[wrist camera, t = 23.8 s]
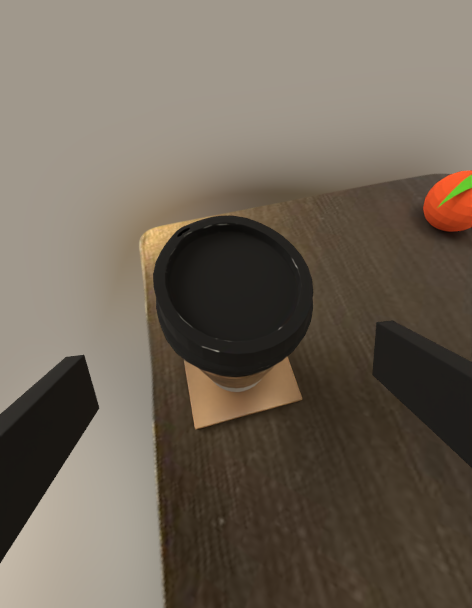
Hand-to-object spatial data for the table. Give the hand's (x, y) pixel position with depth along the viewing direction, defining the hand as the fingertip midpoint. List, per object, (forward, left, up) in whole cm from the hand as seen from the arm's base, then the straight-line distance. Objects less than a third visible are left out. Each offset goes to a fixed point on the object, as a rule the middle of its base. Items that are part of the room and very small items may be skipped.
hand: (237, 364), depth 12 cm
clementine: (+23, +26, -14) cm, 38 cm away
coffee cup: (-1, +4, -13) cm, 14 cm away
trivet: (-1, +4, -14) cm, 15 cm away
